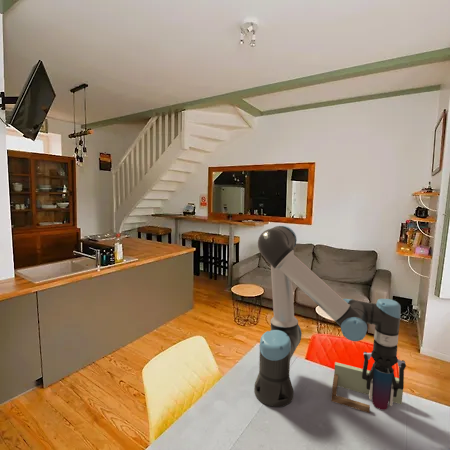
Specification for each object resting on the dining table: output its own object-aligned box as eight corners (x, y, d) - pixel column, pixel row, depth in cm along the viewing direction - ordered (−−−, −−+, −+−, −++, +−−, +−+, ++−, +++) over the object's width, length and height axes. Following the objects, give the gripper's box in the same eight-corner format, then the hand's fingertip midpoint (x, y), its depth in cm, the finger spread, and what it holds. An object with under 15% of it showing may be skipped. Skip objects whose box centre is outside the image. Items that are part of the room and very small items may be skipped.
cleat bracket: (331, 401, 107) (331, 389, 107) (333, 384, 116) (334, 373, 116) (369, 413, 102) (370, 400, 101) (368, 395, 111) (369, 383, 110)
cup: (393, 413, 101) (397, 374, 100) (372, 410, 103) (376, 372, 101) (386, 399, 108) (389, 363, 106) (367, 396, 109) (370, 360, 108)
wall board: (333, 384, 116) (334, 364, 115) (334, 382, 118) (335, 362, 117) (401, 404, 106) (403, 382, 105) (400, 401, 108) (403, 379, 106)
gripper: (356, 340, 103) (352, 398, 106) (418, 354, 95) (412, 416, 98) (356, 331, 110) (352, 386, 113) (414, 343, 102) (408, 402, 104)
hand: (380, 400), depth 105 cm, fingers closed on cup, 6 cm apart
